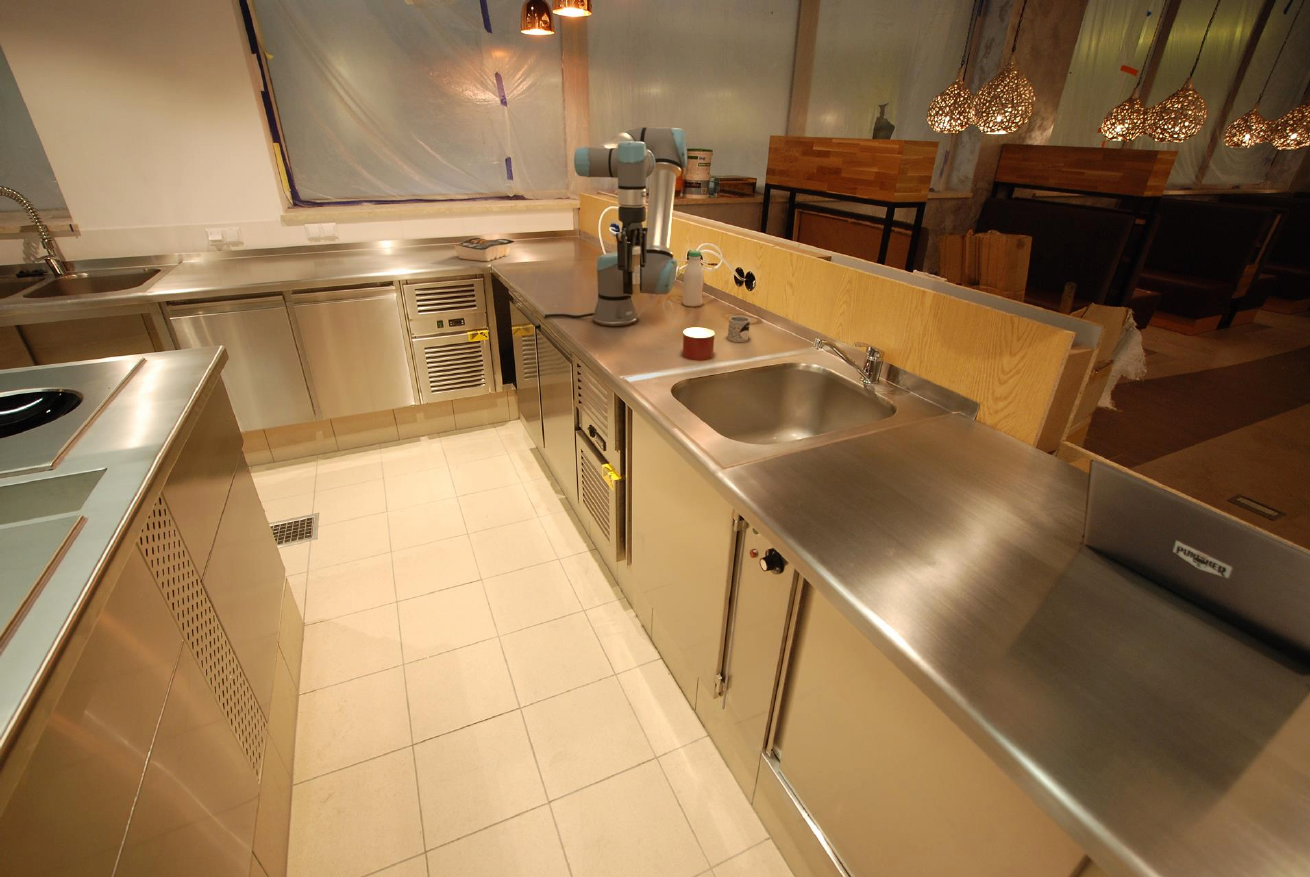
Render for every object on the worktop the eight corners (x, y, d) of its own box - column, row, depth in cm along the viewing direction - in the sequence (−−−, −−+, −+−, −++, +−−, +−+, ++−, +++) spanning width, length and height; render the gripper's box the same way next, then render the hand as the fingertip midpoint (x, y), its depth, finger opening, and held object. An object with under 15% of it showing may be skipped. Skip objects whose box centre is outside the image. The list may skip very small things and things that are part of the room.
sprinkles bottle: (621, 294, 166) (620, 246, 160) (632, 291, 169) (631, 244, 163) (633, 297, 164) (632, 248, 157) (643, 294, 167) (643, 246, 160)
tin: (677, 356, 172) (677, 334, 169) (690, 347, 180) (691, 325, 176) (705, 362, 168) (706, 339, 165) (718, 352, 176) (719, 330, 172)
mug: (742, 343, 184) (744, 323, 180) (724, 339, 187) (725, 319, 183) (755, 335, 191) (757, 315, 188) (737, 331, 194) (738, 312, 191)
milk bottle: (700, 307, 220) (703, 253, 210) (681, 306, 221) (683, 252, 211) (703, 302, 226) (706, 250, 217) (684, 301, 227) (686, 249, 218)
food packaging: (478, 236, 306) (514, 239, 299) (480, 251, 310) (516, 254, 303) (447, 244, 286) (486, 247, 279) (450, 259, 289) (487, 263, 282)
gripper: (626, 210, 146) (627, 300, 158) (659, 203, 160) (658, 287, 171) (602, 208, 150) (604, 296, 161) (636, 201, 163) (636, 283, 174)
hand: (632, 291), depth 166 cm, fingers closed on sprinkles bottle, 4 cm apart
